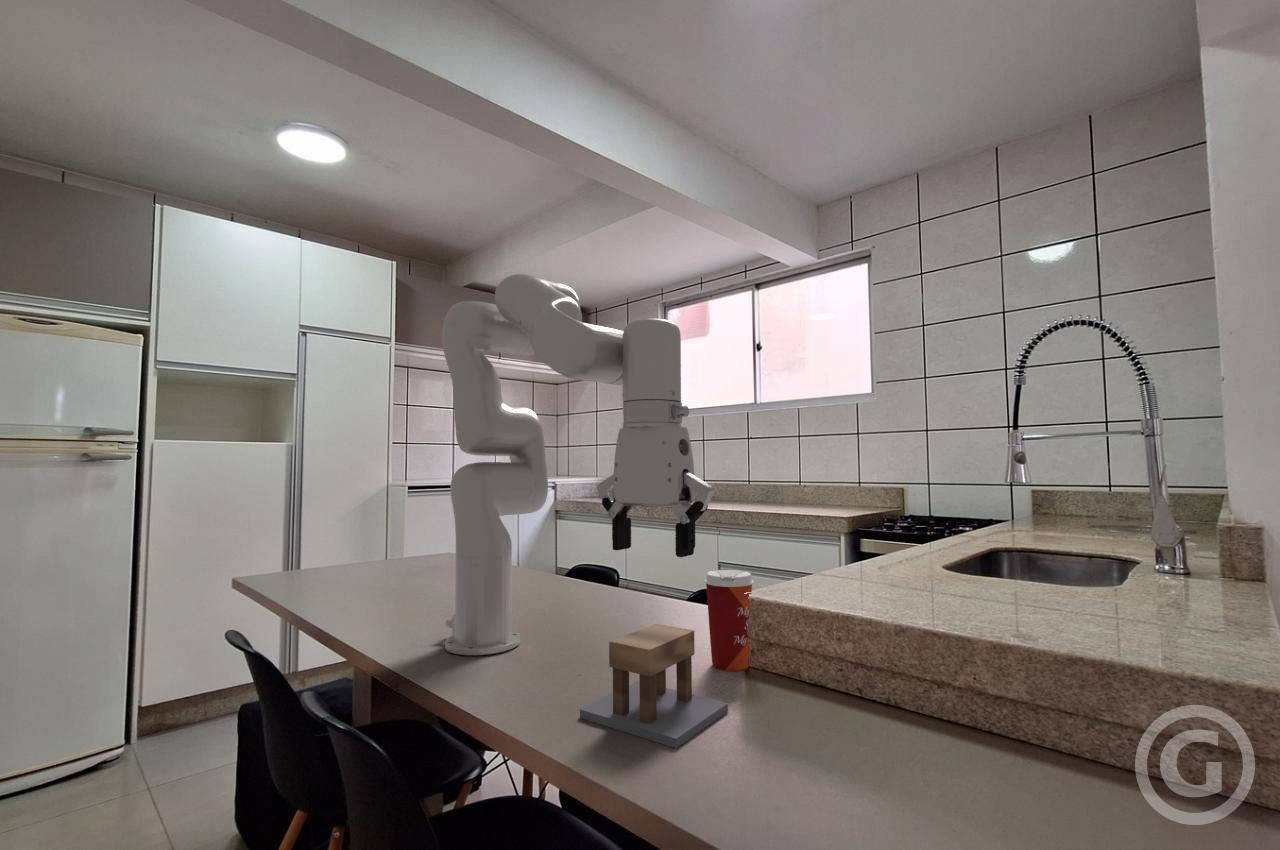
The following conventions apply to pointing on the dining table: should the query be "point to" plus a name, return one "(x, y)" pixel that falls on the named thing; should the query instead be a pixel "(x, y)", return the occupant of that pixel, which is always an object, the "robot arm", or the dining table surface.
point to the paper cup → (729, 618)
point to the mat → (658, 716)
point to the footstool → (651, 666)
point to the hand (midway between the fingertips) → (652, 552)
